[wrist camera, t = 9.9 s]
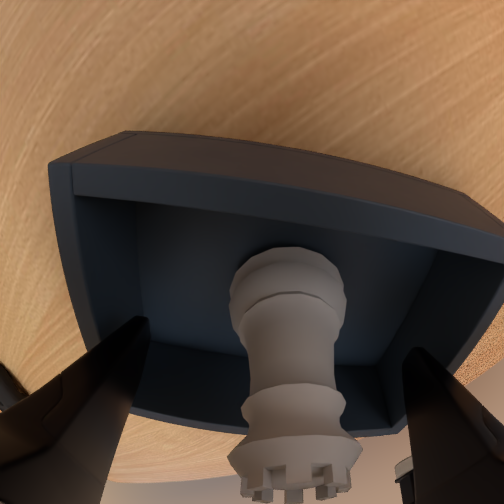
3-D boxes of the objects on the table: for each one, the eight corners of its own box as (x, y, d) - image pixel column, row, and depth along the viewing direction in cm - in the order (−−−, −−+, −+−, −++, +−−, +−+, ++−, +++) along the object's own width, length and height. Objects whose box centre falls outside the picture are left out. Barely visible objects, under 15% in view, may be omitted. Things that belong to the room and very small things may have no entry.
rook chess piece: (359, 296, 12) (412, 480, 5) (273, 342, 14) (272, 513, 7) (302, 216, 10) (348, 447, 3) (207, 279, 12) (156, 480, 5)
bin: (464, 193, 10) (533, 247, 6) (379, 366, 15) (397, 434, 11) (124, 130, 10) (45, 162, 6) (138, 338, 15) (109, 407, 11)
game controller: (-10, 361, 18) (3, 423, 16) (32, 361, 23) (45, 417, 21) (-30, 367, 20) (-20, 416, 19) (4, 368, 25) (14, 414, 24)
